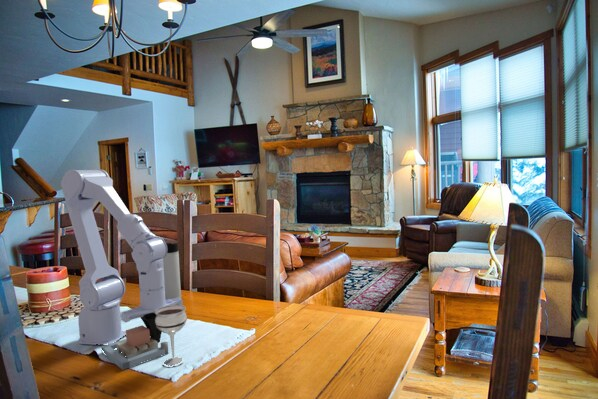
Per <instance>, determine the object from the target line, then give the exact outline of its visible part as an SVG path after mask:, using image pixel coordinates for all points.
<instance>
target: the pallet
mask: <svg viewBox="0 0 598 399" xmlns="http://www.w3.org/2000/svg"><path fill="white" fill-rule="evenodd" d="M116 345H117V350H116V351H117V352H118V353H121V352H122V353H121V355H122V356H123V357H125V356H127V357H125V358H126V359H128V358H131V357H134V356H137V355H140V354H142V353H145V352H148V351H151V350H154V349H157V348H159V343H158V342H157V341H156V340H154V339H152V338H151V337H150V342H148V343H145V344H142V345H139V346H136V347H132V346H131V345H130V344H128V343H127V342H126V341H122V342H119V343H116Z"/></svg>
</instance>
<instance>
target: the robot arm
mask: <svg viewBox="0 0 598 399" xmlns="http://www.w3.org/2000/svg"><path fill="white" fill-rule="evenodd" d="M60 186H61V189H62V193H63V197H64V200H65V204H66V209H67V212H68V216H69V219H70V223H71V226H72V229H73V234H74V236H75V240H76V243H77V247H78V249H79V250H78V251H79V253H80V257H81V259H82V263H83V267H84V270H85V272H84V274H83V276H82V277H81V278H80V280H79V281H78V286H79V300H80V302H81V304H82V306H83V307H82V308H81V309H80V311H79V314H78V321H77V322H78V331H79V332H78V333H79V340H77V344H78V345H95V346H101V345H100V344H107V343H108V344H111V343H113V342H115V341H116V342H117V340H118V339H119V340H121V339H123V338H124V337H126V336H125V335H126V330H124V331H123V330H122V322H124V323H128V322H130V321H132V320H135V319H139V318H140V319H141V321H142V322H143V324H144V327H146V328H148V329H149V331H150V337H151V338H152V339H154V340H156V341H157V342H158V344H159V343H161V338H162V333H163V332H162V331H160V330H159V329H158V328H157V327H156V324H155V318H156V314H155V311H156V310H157V309H159V308H161V307H165V306H170V305H182V306H184V305H183V298H182V297H181V298H174V299H168V300H165V285H164V268H163V258H164V257H165V256H166V254H167V250H168V249H167V244H166V243H167V242H166V241H165V239H164V238H163V237H162V236H161V237H160V236H157V235H156V234H154V233H153V232H152V231H151V230H150V229H149V227H147V225H146V224H145V222H144V219H143V218H142V216H139V215H138V214H135V213H131V212H130V211H129V209H128V208H127V206H126V205H125V203H124V202H123V200H122V198H121V197H120V196H119V194H118V193H117V191H116V190H115V188H114V187H113V186H114V180H113V179H112V178H111V177H110V175H109V173H108V172H107V171H106V170H104V169H89V170H88V169H78V170H77V169H69V170H67V171H66V172H65V174H64V175H63V177H62V180H61V181H60ZM97 202H99V203H100V204H101V205H102V207H104V208H105V209H106V210H107V211H108V212H109V213H110V215H111V216H113V218H114V219H115V220H116V221H117V225H116V228H117V230H118V232H119V234H120V235H121V236H122V237H123V239H124V240H125V241H126V242H127V244H128V245H129V246H130V248H131V249H132V251H131V254H130V255H131V257H132V259H133V261H134V263H135V264H136V265H135V267H136V270H137V272H138V279H139V280H138V282H139V284H138V285H139V298H140V299H139V300H140V305H139V306H137V307H133V308H131V309H128V310H125V311H123V312H121V308H120V306H121V305H120V303H121V302H122V298H123V297H124V295H125V293H126V284H125V281H124V280H123V279H122V277H121V276H120V274H119V270H118V269H116V268H114V267H112V266H110V265H109V263H108V262H109V261H108V259H107V256H106V255H107V254H106V252H105V249H104V245H103V242H102V239H101V234H100V231H99V228H98V225H97V221H96V218H95V215H94V211H93V207H94V205H95V203H97ZM99 279H100V280H99ZM121 320H122V321H121ZM123 336H124V337H123ZM120 338H121V339H120ZM119 340H118V341H119ZM96 344H98V345H96Z"/></svg>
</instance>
